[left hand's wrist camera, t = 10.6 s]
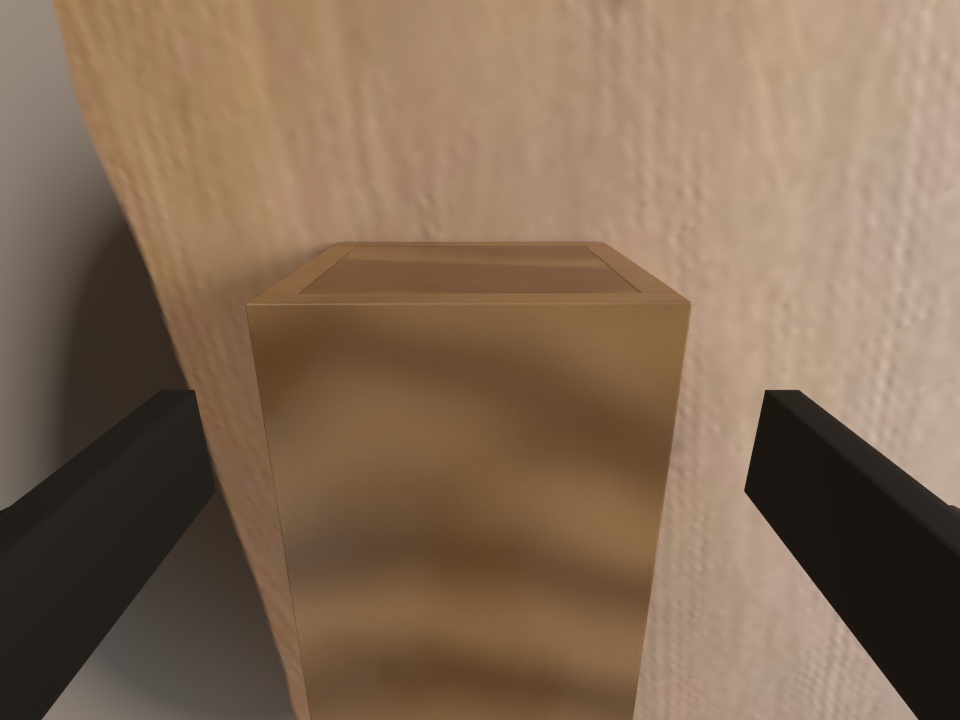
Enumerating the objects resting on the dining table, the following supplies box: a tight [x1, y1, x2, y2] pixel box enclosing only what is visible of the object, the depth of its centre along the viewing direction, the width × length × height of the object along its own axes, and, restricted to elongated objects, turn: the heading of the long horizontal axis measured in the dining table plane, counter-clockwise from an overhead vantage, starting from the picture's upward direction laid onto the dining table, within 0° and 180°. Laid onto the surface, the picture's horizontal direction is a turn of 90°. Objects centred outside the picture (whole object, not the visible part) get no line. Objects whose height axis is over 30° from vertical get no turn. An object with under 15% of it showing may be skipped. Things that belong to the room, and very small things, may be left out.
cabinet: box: [246, 242, 692, 720], centre depth 21 cm, size 17×11×10 cm, turn 0°
